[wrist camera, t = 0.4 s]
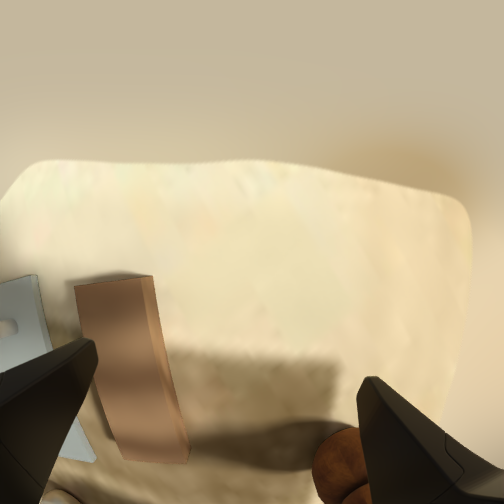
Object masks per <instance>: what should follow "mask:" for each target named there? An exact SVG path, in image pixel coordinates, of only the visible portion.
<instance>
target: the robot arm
mask: <svg viewBox="0 0 504 504" xmlns="http://www.w3.org/2000/svg"><path fill="white" fill-rule="evenodd" d="M98 361H99V359H98V354H97V349H96V345H95V342H94V340H92V339H89V338H86V337H82V338H80V339H77V340H75V341H73V342H70V343H68V344H66V345H64V346H61V347H59V348H57V349H54V350H52V351H50V352H48V353H45V354H43V355H41V356H38V357H36V358H34V359H31V360H29V361H27V362H25V363H22V364H20V365H18V366H15V367H13V368H11V369H8V370H6V371H5V372H1V373H0V504H39V502H40V500H41V497H42V494H43V492H44V489H45V486H46V484H47V481H48V479H49V476H50V474H51V471H52V469H53V466H54V464H55V462H56V459H57V457H58V455H59V452H60V450H61V448H62V446H63V443H64V441H65V439H66V437H67V435H68V433H69V430H70V428H71V426H72V424H73V422H74V420H75V418H76V416H77V414H78V412H79V410H80V408H81V406H82V404H83V401H84V399H85V397H86V394H87V392H88V389H89V386H90V384H91V381H92V378H93V376H94V373H95V371H96V368H97V366H98ZM356 400H357V410H358V421H359V432H360V439H361V445H362V450H363V455H364V460H365V465H366V470H367V476H368V482H369V488H370V494H371V500H372V504H504V470H503V469H500V468H497V467H495V466H494V465H492V464H491V463H489V462H487V461H486V460H484V459H483V458H481V457H479V456H478V455H476V454H474V453H473V452H471V451H470V450H469V449H467V448H466V447H464V446H463V445H462V444H460V443H459V442H458V441H456V440H455V439H453V438H452V437H451V436H450V435H449V434H447V433H445V431H444V430H442V429H441V428H440V427H439V426H437V425H436V424H435V423H434V422H432V421H431V420H430V419H429V418H428V417H426V416H425V415H424V414H423V413H421V412H420V411H419V410H418V409H417V408H415V407H414V406H413V405H412V404H410V403H409V402H408V401H407V400H406V399H404V398H403V397H402V396H401V395H400V394H398V393H397V392H396V391H395V390H393V389H392V388H391V387H390V386H389V385H387V384H386V383H385V382H384V381H383V380H381V379H380V378H379V377H377V376H367V377H366V378H365V379H364V380H363V383H362V385H361V387H360V389H359V391H358V393H357V397H356Z"/></svg>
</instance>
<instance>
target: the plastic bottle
mask: <svg viewBox="0 0 504 504" xmlns="http://www.w3.org/2000/svg"><path fill="white" fill-rule="evenodd" d="M40 504H81V503H80V502H79V501H78V500H77V499H75V498H74V497H73V496H71V495H70V494H68V493H66V492H64V491H62V490H51V491H49V492H48V493H46V494H45V495H44V497H43V498H42V500H41V502H40Z"/></svg>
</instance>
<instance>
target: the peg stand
mask: <svg viewBox="0 0 504 504" xmlns="http://www.w3.org/2000/svg"><path fill="white" fill-rule="evenodd" d="M52 350H53V348H52V344H51V341H50V337H49V333H48V329H47V325H46V321H45V316H44V312H43V307H42V302H41V297H40V291H39V285H38V279H37V275H30V276H27V277H23V278H19V279H15V280H12V281H8V282H4V283H1V284H0V373H1V372H5V371H6V370H8V369H11V368H13V367H15V366H18V365H20V364H22V363H25V362H27V361H29V360H31V359H34V358H36V357H38V356H41V355H43V354H45V353H48V352H50V351H52ZM58 456H60V457H65V458H70V459H75V460H80V461H86V462H92V463H93V462H94V461H95V460H96V458H97V457H96V455H95V454H94V452H93V450H92V448H91V446H90V444H89V442H88V440H87V438H86V436H85V434H84V431H83V429H82V427H81V425H80V423H79V420H78V418H77V416H76V418H75V420H74V422H73V424H72V426H71V428H70V430H69V433H68V435H67V437H66V439H65V441H64V443H63V446H62V448H61V450H60V452H59V455H58Z"/></svg>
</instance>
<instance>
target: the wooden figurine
mask: <svg viewBox="0 0 504 504" xmlns="http://www.w3.org/2000/svg"><path fill="white" fill-rule="evenodd" d="M312 476H313V480H314V483H315V487H316V490H317V493H318V496H319V498H320V499H321V500H322V501H323V503H324V504H372V500H371V494H370V488H369V482H368V476H367V470H366V465H365V460H364V455H363V450H362V445H361V439H360V432H359V428H355V427H351V428H348V429H344V430H341V431H339V432H337V433H335V434H333V435H332V436H330V437H329V438H327V439H326V440H325V441H324V442H323V443H322V444H321V445H320V446H319V447H318V450H317V452H316V455H315V457H314V460H313V464H312Z"/></svg>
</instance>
